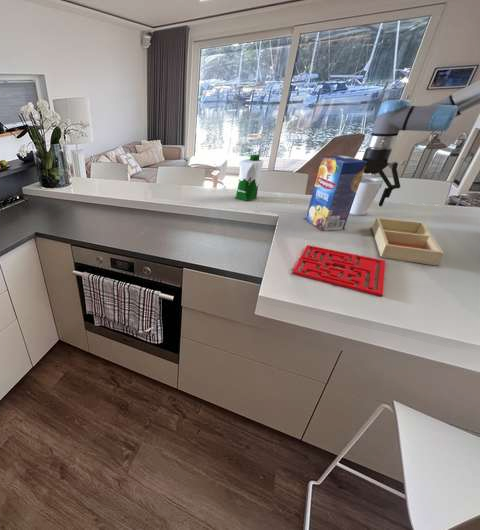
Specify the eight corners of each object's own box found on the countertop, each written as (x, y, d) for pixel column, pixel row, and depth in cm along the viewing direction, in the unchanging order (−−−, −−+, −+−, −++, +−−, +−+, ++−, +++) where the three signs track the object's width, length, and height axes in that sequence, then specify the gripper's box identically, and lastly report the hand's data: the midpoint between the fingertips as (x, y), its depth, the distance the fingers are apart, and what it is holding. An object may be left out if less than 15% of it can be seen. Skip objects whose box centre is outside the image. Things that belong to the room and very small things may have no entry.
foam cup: (342, 207, 124) (353, 176, 117) (370, 210, 119) (382, 178, 112) (341, 214, 117) (352, 182, 111) (370, 217, 112) (383, 184, 106)
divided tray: (417, 233, 98) (423, 222, 96) (436, 265, 81) (443, 252, 79) (371, 228, 104) (376, 217, 102) (380, 257, 87) (385, 245, 85)
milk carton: (259, 198, 142) (266, 155, 132) (247, 202, 138) (254, 158, 128) (244, 194, 148) (250, 153, 138) (232, 198, 144) (237, 156, 134)
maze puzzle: (306, 246, 96) (307, 244, 95) (384, 262, 84) (385, 260, 84) (292, 273, 83) (292, 271, 82) (381, 296, 71) (382, 294, 71)
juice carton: (343, 229, 105) (367, 161, 93) (322, 230, 106) (343, 163, 94) (324, 217, 116) (343, 155, 103) (305, 218, 116) (322, 156, 104)
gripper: (338, 148, 109) (322, 202, 120) (427, 150, 97) (400, 210, 108) (337, 145, 114) (322, 197, 125) (422, 146, 102) (397, 203, 113)
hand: (358, 203), depth 116 cm, fingers open, 13 cm apart
